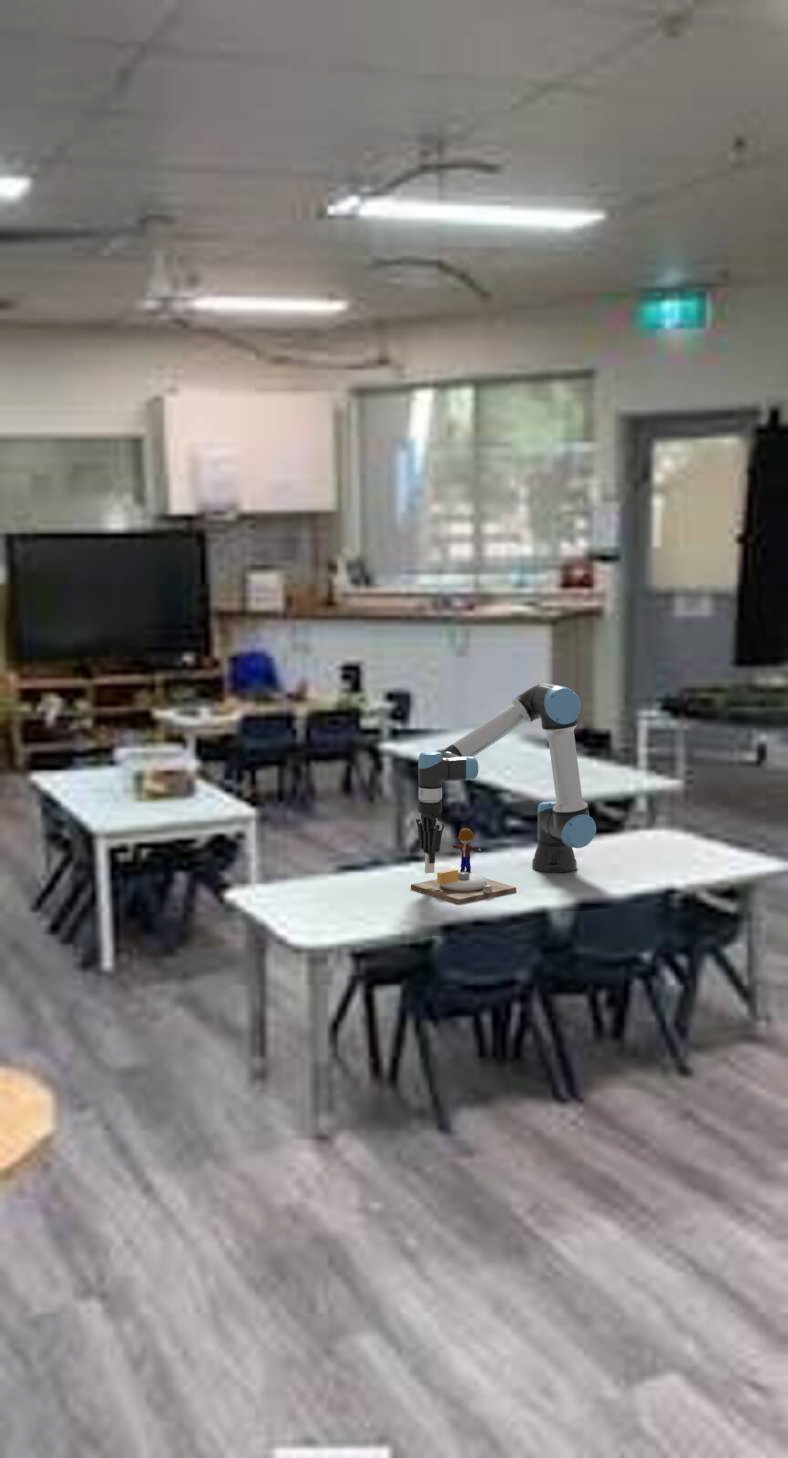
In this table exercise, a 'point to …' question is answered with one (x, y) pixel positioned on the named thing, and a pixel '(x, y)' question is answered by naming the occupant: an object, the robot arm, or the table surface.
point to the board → (463, 896)
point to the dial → (460, 880)
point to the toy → (465, 848)
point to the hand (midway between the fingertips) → (429, 872)
